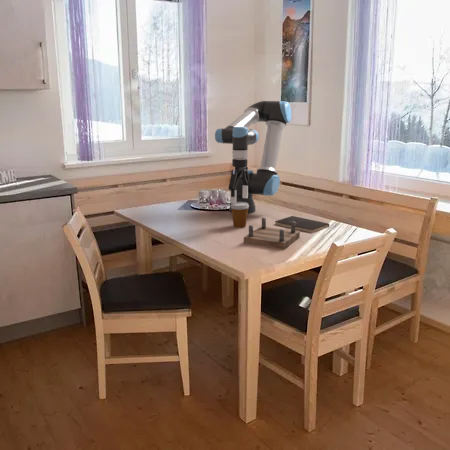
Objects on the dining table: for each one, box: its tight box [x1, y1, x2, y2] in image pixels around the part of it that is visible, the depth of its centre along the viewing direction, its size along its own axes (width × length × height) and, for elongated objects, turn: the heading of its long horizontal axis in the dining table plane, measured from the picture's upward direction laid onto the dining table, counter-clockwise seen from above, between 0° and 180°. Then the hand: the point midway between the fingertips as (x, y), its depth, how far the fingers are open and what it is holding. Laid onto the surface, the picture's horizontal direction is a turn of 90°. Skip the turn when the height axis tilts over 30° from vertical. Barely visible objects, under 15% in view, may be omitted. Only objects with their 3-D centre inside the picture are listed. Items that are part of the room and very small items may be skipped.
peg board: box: [243, 217, 301, 250], centre depth 231 cm, size 20×20×8 cm
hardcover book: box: [274, 215, 330, 234], centre depth 256 cm, size 16×23×2 cm
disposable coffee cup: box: [229, 202, 249, 229], centre depth 254 cm, size 10×10×12 cm
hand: (239, 200), depth 251 cm, fingers open, 13 cm apart
